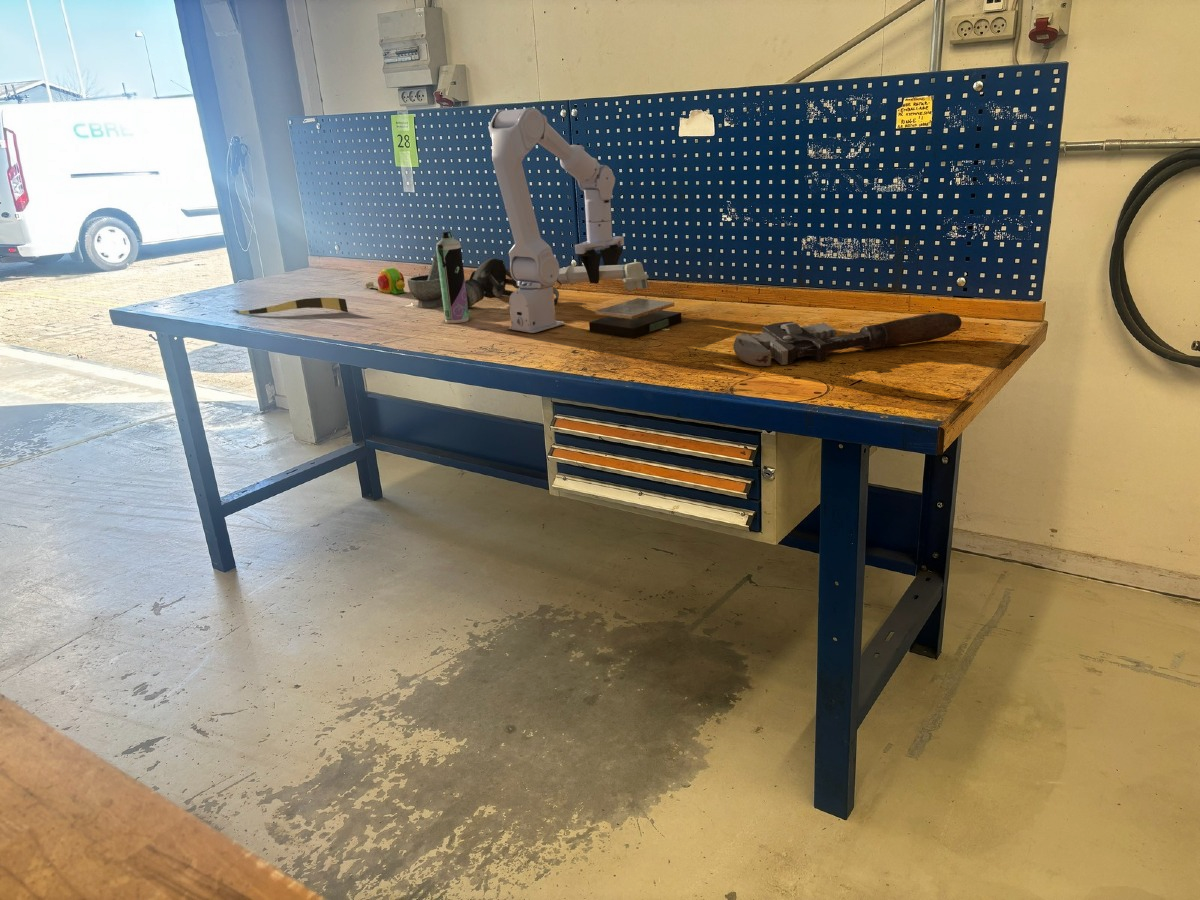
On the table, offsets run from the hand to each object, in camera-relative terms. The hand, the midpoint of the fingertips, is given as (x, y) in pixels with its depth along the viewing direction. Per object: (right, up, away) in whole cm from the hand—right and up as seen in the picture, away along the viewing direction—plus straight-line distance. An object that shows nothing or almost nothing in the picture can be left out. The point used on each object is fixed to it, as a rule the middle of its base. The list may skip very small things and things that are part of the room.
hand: (602, 281), depth 197 cm
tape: (-81, -4, +22) cm, 84 cm away
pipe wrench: (+44, -21, -42) cm, 64 cm away
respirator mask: (-22, -3, +14) cm, 27 cm away
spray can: (-33, -10, -1) cm, 35 cm away
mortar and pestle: (-43, -2, +19) cm, 47 cm away
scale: (+7, -13, -17) cm, 23 cm away
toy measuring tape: (-60, +5, +41) cm, 73 cm away
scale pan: (+7, -11, -18) cm, 22 cm away
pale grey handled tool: (0, -2, +1) cm, 2 cm away
